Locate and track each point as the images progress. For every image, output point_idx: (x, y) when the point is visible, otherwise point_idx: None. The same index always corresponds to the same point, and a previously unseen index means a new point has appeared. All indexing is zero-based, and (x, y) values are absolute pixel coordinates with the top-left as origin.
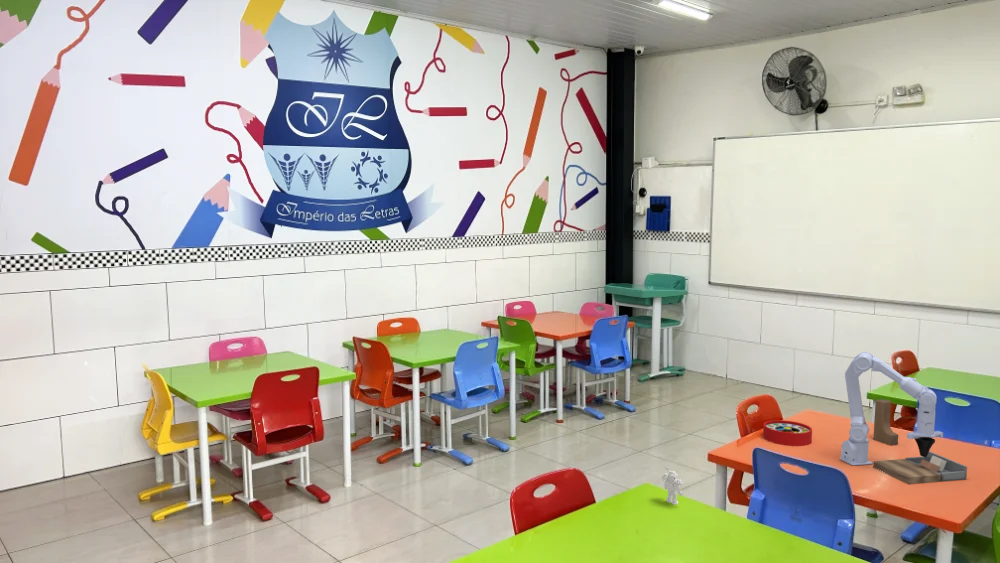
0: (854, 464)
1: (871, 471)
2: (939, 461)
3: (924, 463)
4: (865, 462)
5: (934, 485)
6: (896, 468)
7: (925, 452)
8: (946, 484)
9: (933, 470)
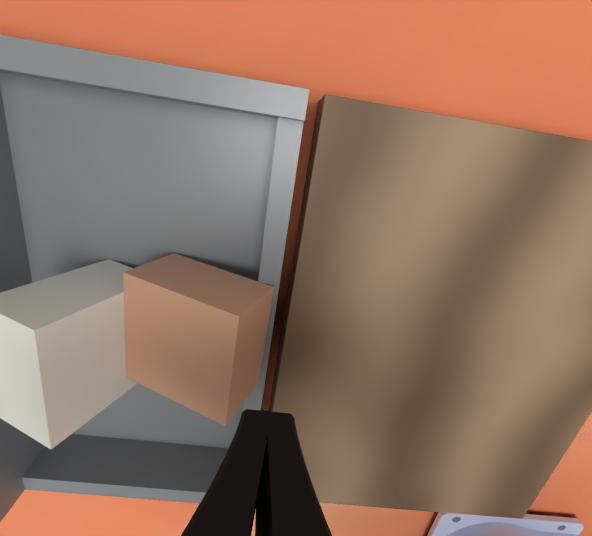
0: (572, 522)
1: (584, 433)
2: (76, 328)
3: (247, 367)
4: (493, 526)
5: (485, 35)
6: (547, 381)
7: (294, 470)
8: (337, 6)
9: (218, 270)
